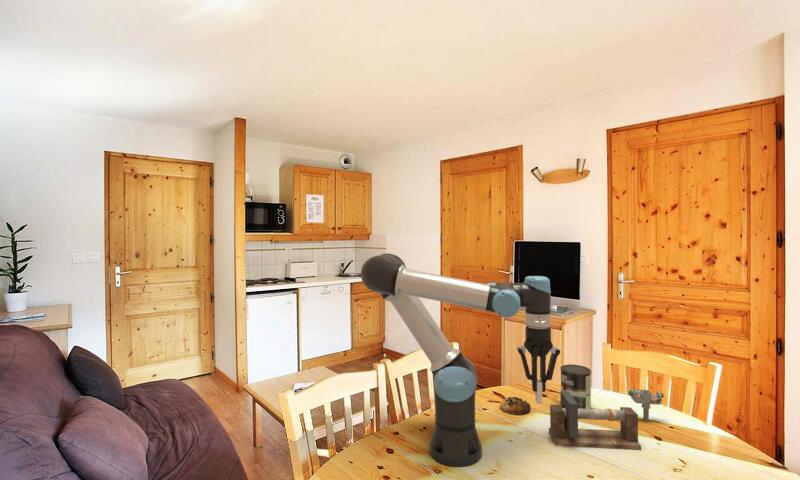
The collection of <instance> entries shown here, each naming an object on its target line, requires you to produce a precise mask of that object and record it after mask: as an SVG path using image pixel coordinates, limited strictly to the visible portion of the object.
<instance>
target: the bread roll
mask: <svg viewBox="0 0 800 480" xmlns="http://www.w3.org/2000/svg"><path fill="white" fill-rule="evenodd" d="M499 408H500V410H502V412H504V413H507V414H510V415H526V414H529V413H530V412H531V410H532V408H531V404H530V403H529V402H528V401H527V400H523V398H519V397H518V396H517V397H516V396H508V397H505V398H504V399H503V400H502V401H501V402H500V405H499Z"/></svg>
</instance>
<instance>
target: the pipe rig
mask: <svg viewBox="0 0 800 480" xmlns="http://www.w3.org/2000/svg"><path fill="white" fill-rule="evenodd" d="M619 408H620V409H612V408H606V409H605V408H603V409H601V408H591V409H578V420H591V421H592V420H593V421H594V420H595V421H597V420H598V421H608V422H614V421H619V422H620V424H619V425H620V430H617V429H615V430H614V429H592V428H590V429H589V428H578V438H574V437H569V435H568V434H567V432H566V430H565V425H564V418H565V419H567V409H566V408H562V407H561V404H549V411H550V412H549V414H550V417H549V419H550V421H549V422H550V427H548V432H549V435H550V436H551V439H552V441H553V442H554V445H555V446H556V447H573V448H576V447H577V448H593V447H594V448H595V449H597V448H598V449H617V450H638V451H639V450H640V451H641V450H642V445H641V443H639V414H638V412H636V411H635V410H634V409H633V408H632V407H629V406H627V407H626V406H620V407H619Z"/></svg>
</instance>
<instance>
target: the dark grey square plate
mask: <svg viewBox="0 0 800 480" xmlns="http://www.w3.org/2000/svg"><path fill="white" fill-rule="evenodd" d="M559 392H560V395H559V396H560V406H561V407H562V408H566V409H567V419H565V418H564V425H565V430H566V432H567V434H568V435H569V437H574V438H578V429H579V419H578V404H577V402H576V401H575V400H574V398H573V397H572V396H571V394H570V393H569V392H568V391H561V390H560V391H559Z"/></svg>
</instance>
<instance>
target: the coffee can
mask: <svg viewBox="0 0 800 480" xmlns="http://www.w3.org/2000/svg"><path fill="white" fill-rule="evenodd" d="M591 380H592V370H591V369H590V368H589V367H586V366H584V365H579V364H563V365H560V391H568V392H569V393H570V394H571V396H572V397H573V398H574V400H575V401H576V402H577V404H578V409H592V405H591V404H592V401H591V399H592V396H591V395H592V386H591V385H592V381H591Z"/></svg>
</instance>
